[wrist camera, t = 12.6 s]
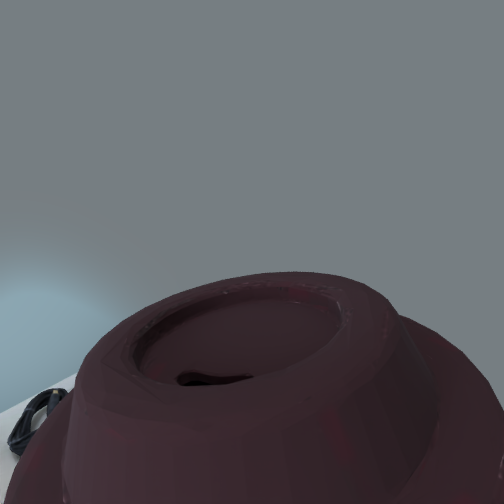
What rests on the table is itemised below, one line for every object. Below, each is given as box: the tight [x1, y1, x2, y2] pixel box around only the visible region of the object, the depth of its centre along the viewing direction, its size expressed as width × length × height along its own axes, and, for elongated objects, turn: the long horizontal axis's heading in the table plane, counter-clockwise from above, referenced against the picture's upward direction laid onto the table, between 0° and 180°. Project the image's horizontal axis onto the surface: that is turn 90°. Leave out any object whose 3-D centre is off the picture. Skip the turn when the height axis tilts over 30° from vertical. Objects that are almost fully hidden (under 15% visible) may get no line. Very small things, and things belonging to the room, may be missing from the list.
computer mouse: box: [7, 388, 68, 456], centre depth 35 cm, size 10×32×6 cm, turn 37°
